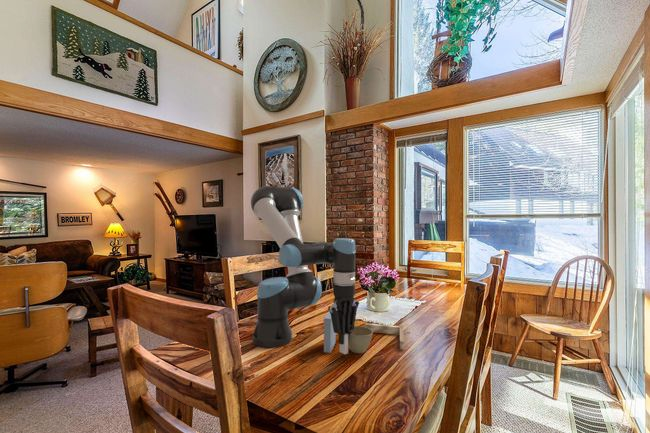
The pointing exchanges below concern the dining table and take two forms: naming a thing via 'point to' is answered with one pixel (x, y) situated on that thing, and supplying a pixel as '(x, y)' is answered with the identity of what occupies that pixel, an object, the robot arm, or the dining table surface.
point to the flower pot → (360, 339)
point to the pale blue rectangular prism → (328, 334)
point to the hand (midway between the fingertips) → (343, 352)
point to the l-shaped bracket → (388, 331)
